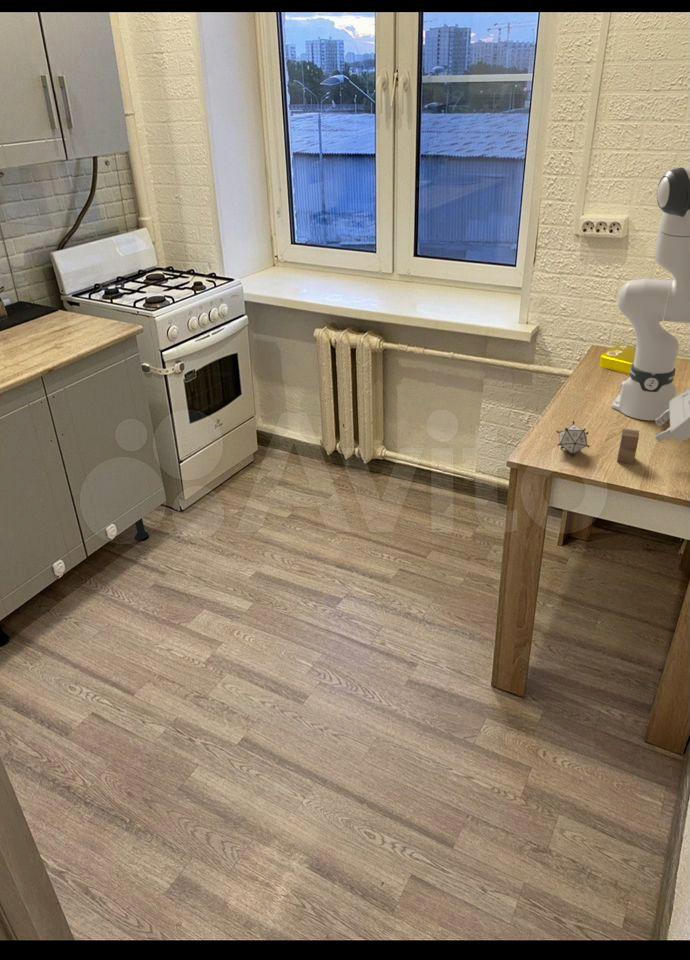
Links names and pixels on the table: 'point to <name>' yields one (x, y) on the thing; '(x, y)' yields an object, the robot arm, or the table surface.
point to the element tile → (618, 359)
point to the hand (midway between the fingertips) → (656, 430)
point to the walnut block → (628, 446)
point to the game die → (573, 438)
